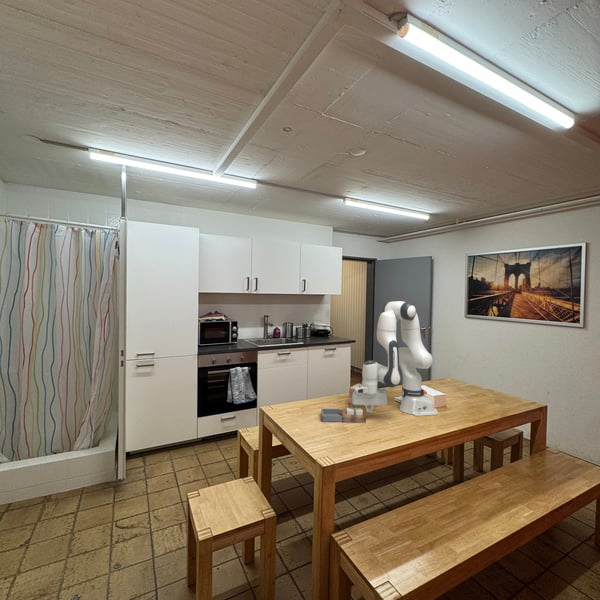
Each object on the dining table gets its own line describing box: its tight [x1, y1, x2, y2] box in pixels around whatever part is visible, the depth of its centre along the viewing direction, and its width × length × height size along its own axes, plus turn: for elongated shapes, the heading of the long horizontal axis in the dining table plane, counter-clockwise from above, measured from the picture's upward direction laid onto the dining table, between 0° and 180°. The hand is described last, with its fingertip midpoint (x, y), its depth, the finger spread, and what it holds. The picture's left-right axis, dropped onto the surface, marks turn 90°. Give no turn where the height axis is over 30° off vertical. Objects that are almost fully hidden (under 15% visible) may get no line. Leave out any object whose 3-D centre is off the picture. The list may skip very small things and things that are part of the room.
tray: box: [320, 408, 343, 423], centre depth 182 cm, size 11×11×4 cm
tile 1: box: [346, 407, 355, 415], centre depth 182 cm, size 4×4×2 cm
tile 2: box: [354, 407, 364, 415], centre depth 182 cm, size 4×4×2 cm
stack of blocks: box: [348, 383, 363, 409], centre depth 208 cm, size 21×6×12 cm, turn 143°
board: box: [339, 408, 367, 424], centre depth 182 cm, size 13×12×3 cm
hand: (368, 412), depth 182 cm, fingers closed
